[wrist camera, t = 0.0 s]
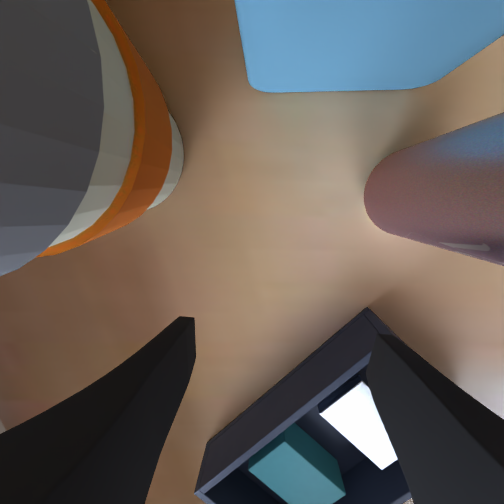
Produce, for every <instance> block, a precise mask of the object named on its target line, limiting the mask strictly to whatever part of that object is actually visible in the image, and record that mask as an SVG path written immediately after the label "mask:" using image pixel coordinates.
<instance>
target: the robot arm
mask: <svg viewBox="0 0 504 504" xmlns="http://www.w3.org/2000/svg"><path fill="white" fill-rule="evenodd" d="M195 359H196V345H195V320H194V317H182V316H179V317H178V318H177V319H176V320H174V321H173V322H172V323H171V324H170V325H169V326H167V327H166V328H165V329H164V330H163V331H162V332H160V333H159V334H158V335H157V336H156V337H155V338H153V339H152V340H151V341H150V342H149V343H147V344H146V345H145V346H144V347H142V348H141V349H140V350H139V351H137V352H136V353H135V354H134V355H132V356H131V357H130V358H128V359H127V360H126V361H124V362H123V363H122V364H120V365H119V366H118V367H116V368H115V369H113V370H112V371H111V372H109V373H108V374H106V375H105V376H103V377H102V378H100V379H99V380H97V381H95V382H94V383H92V384H91V385H89V386H88V387H86V388H85V389H83V390H81V391H80V392H78V393H76V394H74V395H73V396H71V397H69V398H67V399H66V400H64V401H62V402H60V403H59V404H57V405H55V406H53V407H52V408H50V409H48V410H46V411H45V412H43V413H41V414H39V415H37V416H35V417H33V418H31V419H29V420H27V421H25V422H24V423H22V424H20V425H18V426H16V427H14V428H12V429H10V430H7V431H5V432H3V433H2V434H0V504H145V501H146V497H147V494H148V491H149V488H150V484H151V481H152V478H153V475H154V472H155V468H156V465H157V462H158V459H159V456H160V453H161V451H162V448H163V445H164V442H165V440H166V438H167V435H168V433H169V430H170V428H171V425H172V423H173V420H174V418H175V416H176V413H177V411H178V408H179V406H180V403H181V401H182V398H183V396H184V393H185V391H186V389H187V386H188V383H189V380H190V377H191V374H192V370H193V366H194V363H195ZM366 377H367V380H368V384H369V388H370V391H371V395H372V398H373V401H374V404H375V406H376V409H377V411H378V413H379V416H380V418H381V421H382V423H383V426H384V428H385V430H386V433H387V435H388V437H389V440H390V442H391V445H392V447H393V449H394V452H395V454H396V456H397V459H398V461H399V464H400V466H401V468H402V471H403V474H404V476H405V479H406V481H407V484H408V487H409V490H410V493H411V496H412V499H413V502H414V504H504V419H502V418H501V417H499V416H498V415H496V414H495V413H493V412H492V411H491V410H489V409H488V408H486V407H485V406H484V405H482V404H481V403H480V402H478V401H477V400H476V399H474V398H473V397H471V396H470V395H469V394H467V393H466V392H465V391H463V390H462V389H461V388H459V387H458V386H457V385H456V384H454V383H453V382H452V381H450V380H449V379H448V378H447V377H445V376H444V375H443V374H442V373H440V372H439V371H438V370H437V369H435V368H434V367H433V366H432V365H430V364H429V363H428V362H427V361H425V360H424V359H423V358H422V357H421V356H419V355H418V354H417V353H416V352H414V351H413V350H412V349H411V348H410V347H408V346H407V345H406V344H405V343H403V342H402V341H401V340H399V339H398V338H397V337H395V336H394V335H390V334H378V333H377V335H376V338H375V342H374V346H373V349H372V353H371V356H370V360H369V363H368V367H367V370H366Z"/></svg>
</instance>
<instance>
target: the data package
mask: <svg viewBox="0 0 504 504" xmlns="http://www.w3.org/2000/svg"><path fill="white" fill-rule="evenodd" d="M235 6H236V12H237V18H238V24H239V30H240V35H241V41H242V47H243V53H244V59H245V65H246V71H247V76H248V81H249V83H250V85H251V86H252V87H253V88H255V89H257V90H259V91H263V92H316V91H359V90H402V89H413V88H418V87H422V86H425V85H428V84H431V83H433V82H436V81H438V80H439V79H441V78H442V77H444V76H445V75H447V74H448V73H450V72H451V71H453V70H454V69H455V68H457V67H458V66H460V65H461V64H463V63H464V62H465V61H467V60H468V59H470V58H471V57H473V56H474V55H475V54H477V53H478V52H480V51H481V50H483V49H484V48H485V47H487V46H488V45H490V44H491V43H493V42H494V41H496V40H497V39H498V38H500V37H501V36H503V35H504V0H235Z"/></svg>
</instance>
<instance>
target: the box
mask: <svg viewBox="0 0 504 504" xmlns="http://www.w3.org/2000/svg"><path fill="white" fill-rule="evenodd" d="M377 333H378V334H390V335H394V336H395V337H397V338H398V339H399V340H401V339H400V338H399V337H398V336H397V335H396V334H395V333H394V332H393V331H392V330H391V329H390V328H389V327H388V326H387V325H386V324H384V323H383V322H382V321H381V320H380V319H379V318H378V317H377V316H376V315H375V314H374V313H373V312H372V311H371V310H370V309H369V308H368V307H366V308H365V309H364V310H363V311H362V312H361V313H359V314H358V315H357V316H356V317H355V318H353V319H352V320H351V321H350V322H349V323H348V324H346V325H345V326H344V327H343V328H342V329H341V330H339V331H338V332H337V333H336V334H335V335H333V336H332V337H331V338H330V339H329V340H328V341H326V342H325V343H324V344H323V345H322V346H321V347H319V348H318V349H317V350H316V351H315V352H313V353H312V354H311V355H310V356H309V357H308V358H306V359H305V360H304V361H303V362H302V363H301V364H299V365H298V366H297V367H296V368H295V369H293V370H292V371H291V372H290V373H289V374H288V375H286V376H285V377H284V378H283V379H282V380H281V381H279V382H278V383H277V384H276V385H275V386H273V387H272V388H271V389H270V390H269V391H268V392H266V393H265V394H264V395H263V396H262V397H261V398H259V399H258V400H257V401H256V402H255V403H253V404H252V405H251V406H250V407H249V408H248V409H246V410H245V411H244V412H243V413H242V414H241V415H239V416H238V417H237V418H236V419H235V420H233V421H232V422H231V423H230V424H229V425H228V426H226V427H225V428H224V429H223V430H222V431H221V432H219V433H218V434H217V435H216V436H215V437H213V438H212V439H211V440H210V441H209V442H208V443H207V444H206V448H205V452H204V456H203V460H202V464H201V468H200V472H199V476H198V480H197V484H196V488H195V492H194V494H195V495H196V496H198V497H199V498H200V499H201V500H203V501H204V502H205V503H206V504H288V503H287V502H286V501H285V500H284V499H282V498H281V497H280V496H279V495H278V494H276V493H275V492H274V491H273V490H272V489H270V488H269V487H268V486H267V485H266V484H264V483H263V482H262V481H261V480H260V479H258V478H257V477H256V476H255V475H254V474H252V473H251V472H250V471H249V470H248V465H249V458H250V457H251V456H253V455H254V454H255V453H256V452H258V451H259V450H260V449H261V448H263V447H264V446H265V445H266V444H268V443H269V442H270V441H272V440H273V439H274V438H275V437H277V436H278V435H279V434H280V433H282V432H283V431H284V430H285V429H287V428H288V427H289V426H290V425H292V424H293V423H296V424H297V425H298V426H299V427H300V428H301V429H302V430H304V431H305V432H306V433H307V434H308V435H309V436H310V437H311V438H313V439H314V440H315V441H316V442H317V443H318V444H319V445H321V446H322V447H323V448H324V449H325V450H326V451H327V452H329V453H330V454H331V455H332V456H333V457H334V458H335V459H336V460H337V461H338V465H339V469H340V473H341V477H342V480H343V484H344V488H345V492H346V495H345V496H343V497H342V498H340V499H339V500H337V501H336V502H334V503H333V504H403V503H404V502H406V501H407V500H409V499H411V498H412V496H411V493H410V490H409V487H408V484H407V481H406V479H405V476H404V474H403V471H402V468H401V466H400V464H399V461H398V459H397V460H396V461H394V462H393V463H391V464H390V465H389V466H387V467H386V468H384V469H383V470H381V469H380V468H379V467H378V466H377V465H376V464H374V463H373V462H372V461H371V460H370V459H369V458H368V457H367V456H366V455H364V454H363V453H362V452H361V451H360V450H359V449H358V448H357V447H355V446H354V445H353V444H352V443H351V442H350V441H349V440H348V439H347V438H345V437H344V436H343V435H342V434H341V433H340V432H339V431H338V430H337V429H335V428H334V427H333V426H332V425H331V424H330V423H329V422H328V421H326V420H325V419H324V418H323V417H322V416H321V415H320V414H319V410H318V406H317V404H318V403H319V402H321V401H322V400H323V399H324V398H326V397H327V396H328V395H329V394H331V393H332V392H333V391H334V390H336V389H337V388H338V387H340V386H341V385H342V384H343V383H345V382H346V381H347V380H348V379H350V378H351V377H352V376H353V375H355V374H356V373H357V372H358V371H360V370H361V369H363V370H364V371H365V372H366V370H367V367H368V363H369V360H370V356H371V353H372V349H373V346H374V342H375V338H376V335H377ZM401 341H402V340H401ZM402 342H403V341H402ZM403 343H404V342H403Z"/></svg>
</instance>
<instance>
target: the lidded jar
mask: <svg viewBox="0 0 504 504" xmlns="http://www.w3.org/2000/svg"><path fill="white" fill-rule="evenodd" d="M183 162H184V151H183V144H182V138H181V135H180V132H179V130H178V127H177V124H176V123H175V121H174V119H173V118H172V116H171V114H170V113H169V111H168V108H167V106H166V103H165V100H164V98H163V95H162V93H161V90H160V88H159V86H158V84H157V83H156V81H155V79H154V78H153V76H152V74H151V73H150V71H149V69H148V68H147V66H146V65H145V63H144V61H143V60H142V58H141V57H140V55H139V54H138V52H137V50H136V49H135V47H134V46H133V44H132V43H131V41H130V39H129V38H128V36H127V35H126V33H125V32H124V30H123V28H122V27H121V25H120V24H119V22H118V21H117V19H116V17H115V16H114V14H113V13H112V11H111V10H110V8H109V6H108V5H107V3H106V2H105V0H0V276H1V275H4V274H6V273H9V272H12V271H14V270H17V269H19V268H20V267H22V266H23V265H25V264H26V263H28V262H29V261H31V260H32V259H33V258H35V257H42V256H49V255H56V254H59V253H62V252H64V251H67V250H69V249H72V248H75V247H77V246H80V245H82V244H85V243H87V242H89V241H91V240H94V239H96V238H98V237H100V236H103V235H105V234H107V233H110V232H112V231H114V230H116V229H119V228H121V227H123V226H125V225H127V224H129V223H130V222H132V221H133V220H135V219H136V218H138V217H139V216H141V215H142V214H143V213H144V212H145V211H146V210H147V209H150V208H153V207H155V206H156V205H158V204H160V203H161V202H163V201H164V200H165V199H166V198H167V197H168V196H169V195H170V194H171V193H172V191H173V190H174V188H175V186H176V185H177V183H178V181H179V178H180V175H181V173H182V167H183Z"/></svg>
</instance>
